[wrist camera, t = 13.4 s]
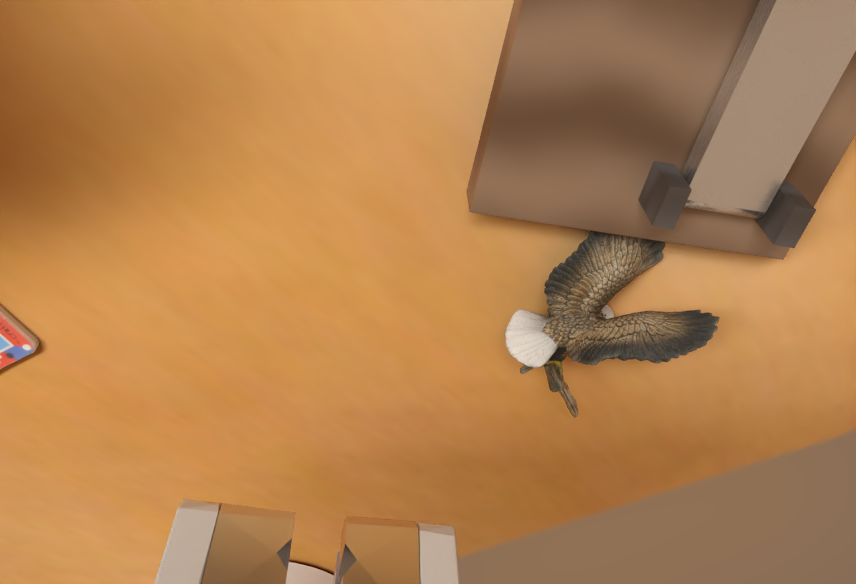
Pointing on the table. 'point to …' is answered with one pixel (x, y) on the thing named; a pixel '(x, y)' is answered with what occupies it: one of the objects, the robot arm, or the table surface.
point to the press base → (633, 124)
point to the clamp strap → (769, 103)
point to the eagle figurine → (601, 314)
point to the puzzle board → (14, 339)
